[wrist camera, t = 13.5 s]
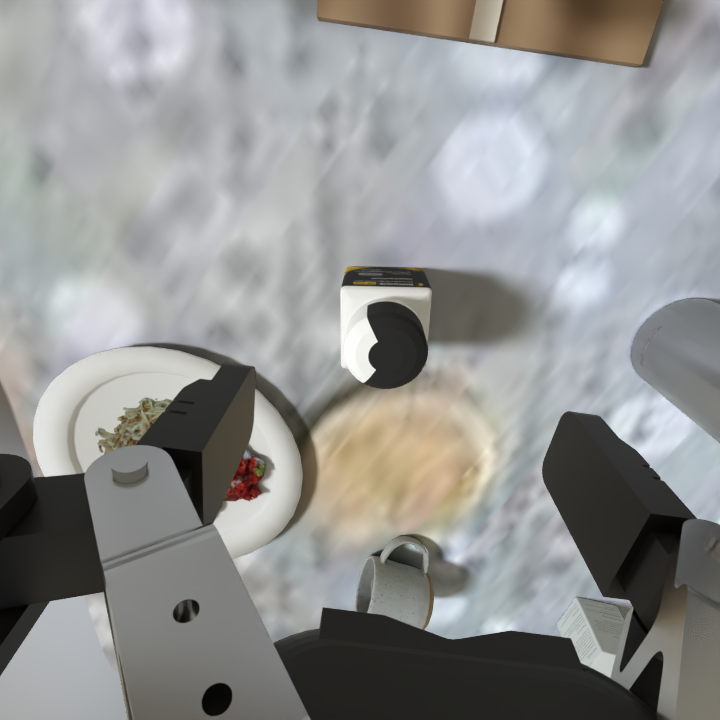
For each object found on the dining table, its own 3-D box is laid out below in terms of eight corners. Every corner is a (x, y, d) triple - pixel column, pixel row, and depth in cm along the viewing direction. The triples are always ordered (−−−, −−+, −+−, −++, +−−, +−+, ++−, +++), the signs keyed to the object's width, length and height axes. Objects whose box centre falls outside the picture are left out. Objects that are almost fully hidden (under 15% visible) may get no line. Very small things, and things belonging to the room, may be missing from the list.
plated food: (-12, 388, 47) (-39, 404, 44) (232, 301, 42) (221, 312, 39) (136, 571, 59) (123, 594, 56) (342, 521, 54) (340, 543, 51)
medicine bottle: (423, 267, 40) (441, 309, 29) (418, 339, 43) (432, 401, 32) (345, 265, 40) (334, 306, 29) (345, 337, 43) (335, 399, 32)
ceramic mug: (412, 595, 59) (418, 653, 52) (355, 581, 58) (352, 638, 51) (441, 540, 54) (452, 596, 47) (379, 524, 54) (381, 579, 47)
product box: (594, 632, 61) (621, 690, 54) (554, 623, 60) (576, 681, 54) (617, 604, 58) (648, 662, 52) (576, 595, 58) (602, 652, 51)
